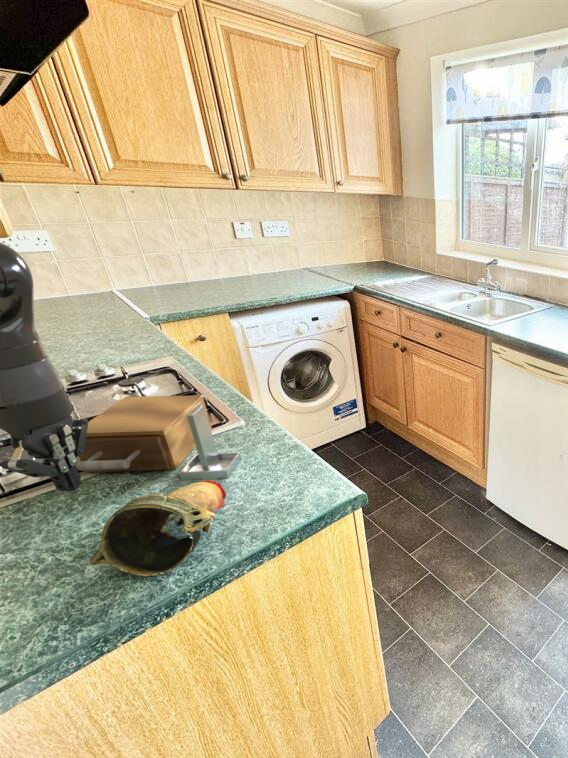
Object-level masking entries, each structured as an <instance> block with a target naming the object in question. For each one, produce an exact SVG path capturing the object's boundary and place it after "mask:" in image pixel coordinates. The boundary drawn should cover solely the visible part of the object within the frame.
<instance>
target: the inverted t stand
mask: <svg viewBox="0 0 568 758" xmlns="http://www.w3.org/2000/svg"><path fill="white" fill-rule="evenodd" d="M187 418H188V422H189V425H190V428H191V432H192V435H193V438H194V441H195V445H196V448H195V449H196V451H197V453H195V454H194V455H193V456H192V457H191V459H189V461H188V462H187V463H186V464H185V465H184V466H183V468H182V469H181V470H180V471H179V472H178V475H179V477H180V480H181V481H194V480H213V479H214V480H215V479H217V480H218V479H229V478H230V477H231V475H232V474H233V473H234V471H235V469H236V468H237V467H238V465H239V464H240V463H241V462H242V455H241V452H240V451H238V452H218V451H217V447H216V443H215V440H214V437H213V433H212V430H211V429H210V426H209V422H208V419H207V415H206V412H205V408H204V405H197V406H196V407H195V408H194V409H193V410H192V411H191V412H190V413H189V414H188V415H187Z"/></svg>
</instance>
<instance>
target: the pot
mask: <svg viewBox="0 0 568 758" xmlns="http://www.w3.org/2000/svg"><path fill="white" fill-rule="evenodd" d="M226 496H227V492H225V489H224V488H223V486H222V484H220V483H219V482H217V481H215V480H211V479H207V480H201V481H197V482H194V483H191V484H187V485H185V486H182V487H180V488H177V489H174V490H173V491H170V492H169V493H167V494H165V495H163V494H162V493H151V494H146V495H142V496H139V497H136V498H134V499H132V500H130V501H128V502H127V503H126V504H124V505H123V506H122V507H120V509H118V510H116V511H115V512H114V513H113V514H112V515H111V516H110V517H109V519H108V520H107V522H106V523H105V525H104V527H103V529H102V532H101V536H100V546H99V548H98V550H97V551H96V552H95V553H94V555H92V557H91V559H90V561H89V563H88V565H87V566H89V567H90V566H93V567H95V566H102V565H104V566H108V565H111V567H115V568H117V569H119V570H120V571H121V572H125V573H130V574H132V575H133V574H134V575H136V576H143V577H151V576H158V575H159V574H160V575H163V574H164V573H165V574H168V573H169V572H171V570H172V571H174V570H176V569H177V568H179V567H180V565H183V563H184V562H185V561H186V560H187V558H188V557H189V556H190V555H191V554H192V552H194V550H195V549H196V547H197V545H198V543H199V541H200V539H201V530H202V532H203V533H206V534H208V533H209V532H210V530H211V525H212V523H213V521H214V518H215V517H216V513H215V511H217V510H219V509H221V508H222V506H224V504H225V503H224V502H225V499H226ZM171 515H175V516H178V517H179V520H177V522H176V525H177V526H182V525H183V526H182V530H181V531H182V532H184V533H185V534H186V535H187V536H185V537H182V538H179V539H178V538H177V537H176V536H174V535H173V534H172V533H170V532H169V531H168V530H166V529H165V528H163V527H164V526H165V525H166V524H167V522H168V521H169V520H170V516H171Z"/></svg>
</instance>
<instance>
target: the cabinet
mask: <svg viewBox="0 0 568 758" xmlns="http://www.w3.org/2000/svg"><path fill="white" fill-rule="evenodd" d="M197 405H204V408H205V412H206V415H207V419H208V422H209V426H210V429H212V430H213V427H212V423H211V421H210V417H209V413H208V410H207V406H206V402H205V398H204V396H203V395H202V394H201V395H153V396H151V395H149V396H145V395H143V396H124V397H122V398H121V399H120V400H118V401H117V402H115V403H114V404H113V405H111V406H110V407H108V408H106V409H105V410H104V411H101V413H99V414H98V415H96V416H95V417H94V418H92V419H91V420H88V429H87V435H86V438H89V437H99V436H130V435H161V437H162V440H163V443H164V446H165V448H166V451H167V454H168V457H169V460H170V463H171V466H170V467H169V468H168V469H167V470H176V469H178V468H179V467H180V465H181V464H182V463H183V462H184V461H185V460H186V459H187V458H188V457H189V456H190V455H191V454H192V453H193V451H194V450H195V449H197V448H196V445H195V441H194V438H193V435H192V432H191V428H190V425H189V422H188V418H187V415H188V414H189V413H190V412H191V411H192V410H193V409H194V408H195V407H196V406H197ZM158 470H162V469H156V470H155V471H158ZM136 471H139V470H134V471H133V472H136ZM112 472H113V473H115V472H116V473H117V471H111V472H110V473H112Z"/></svg>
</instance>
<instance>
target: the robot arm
mask: <svg viewBox="0 0 568 758" xmlns="http://www.w3.org/2000/svg"><path fill="white" fill-rule="evenodd" d="M34 289H35V288H34V277H33V274H32V271H31V269H30V267H29V265H28V263H27V261H26V260H25V259H24V258H23V256H22V254H20V253H18V251H16V250H15V249H13V248H12V247H11V246H10V245H7V244H4V243H3V242H0V430H2V431H4V432H6V433H7V434H8V435H9V436H10V446H11V448H12V449H13V450H14V451H13V453H12V455H11V458H10V459H4V460H3V461H2V462H1V464H0V466H1V468H2V469H4V470H8V471H10V472H14V473H18V474H21V475H24V476H28V477H31V478H45V477H46V478H47V477H49V478H50V480H51V481H52V483H53V486H54V487H55V489H56V490H57V491H59V492H74V491H76V490H77V489H78V488H79V487H80V486H81V485H82V481H81V480H82V477H81V474H80V473H79V472H80V471H79V470H78V468H77V464H78V461H77V459H78V458H79V456H81V455H83V453H84V447H85V441H86V435H87V429H88V422H89V420H88V419H87V418H73V417H72V413H73V411H74V408H73V406H72V404H71V401H70V399H69V397H68V394H67V392H66V390H65V387H64V385H63V382H62V380H61V378H60V376H59V373H58V371H57V369H56V367H55V366H54V364H53V363H52V362H51V360H50V358H49V357H48V354H47V352H46V350H45V347H44V345H43V343H42V340H41V337H40V336H39V334H38V331H37V329H36V323H35V322H36V319H35V304H34V303H35V301H34V299H35V298H34V297H35V295H34V294H35V293H34V292H35V291H34ZM74 441H76V444H74Z"/></svg>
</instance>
